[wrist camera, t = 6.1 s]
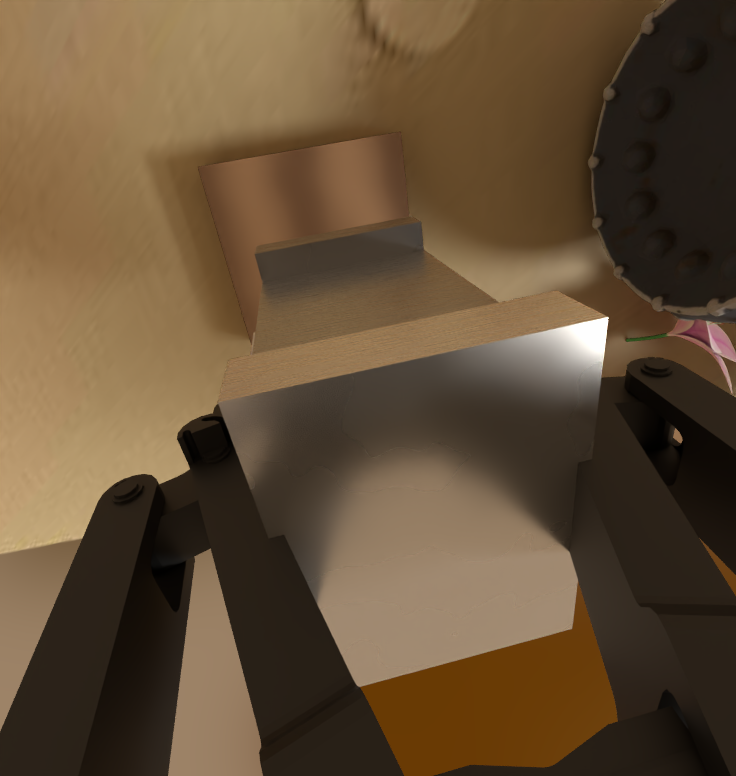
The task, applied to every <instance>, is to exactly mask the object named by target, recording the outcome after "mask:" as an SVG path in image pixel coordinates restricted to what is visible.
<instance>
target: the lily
mask: <svg viewBox="0 0 736 776" xmlns="http://www.w3.org/2000/svg"><path fill="white" fill-rule="evenodd" d="M716 324H720V323H714V322H710V321H705V320H699V319H697V320H691V321H684V320H680V319H678V321H677V323H676V325H675V327H674V329H673V330H672V331H671V332H669V333H665V334H661V335H655V336H649V337H640V338H630V339H626V341H627V342H630V341H641V340H650V339H656V338H662V337H668V336H678V337H681V338H684V339H686V340H688V341H691V342H693V343H695V344H697V345H698V346H700V347H702V348H704V349H705V350H706V351H708V352H709V353H710V354H711V355H712V356H713V357H714V358H715V359H716V361H717V362H718V364H719V366H720V367H721V369H722V371H723V374H724V376H725V378H726V380H727V383H728V385H729V388H730V390H731V393H733V392H732V385H731V381H730V377H729V374H728V370H727V368H726V365H725V363H724V361H723V359H722V358H721V356H722V357H725V358H727V359H729V360H732V361H734V362H736V352H735V349H734V347H733V345H732V343H731V341H730V339H729V338H728V336H727V335H726V333H725V332H724V331H723V330H722V329H721V328H720V327H719V326H718V325H716ZM721 324H725V323H721Z"/></svg>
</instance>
